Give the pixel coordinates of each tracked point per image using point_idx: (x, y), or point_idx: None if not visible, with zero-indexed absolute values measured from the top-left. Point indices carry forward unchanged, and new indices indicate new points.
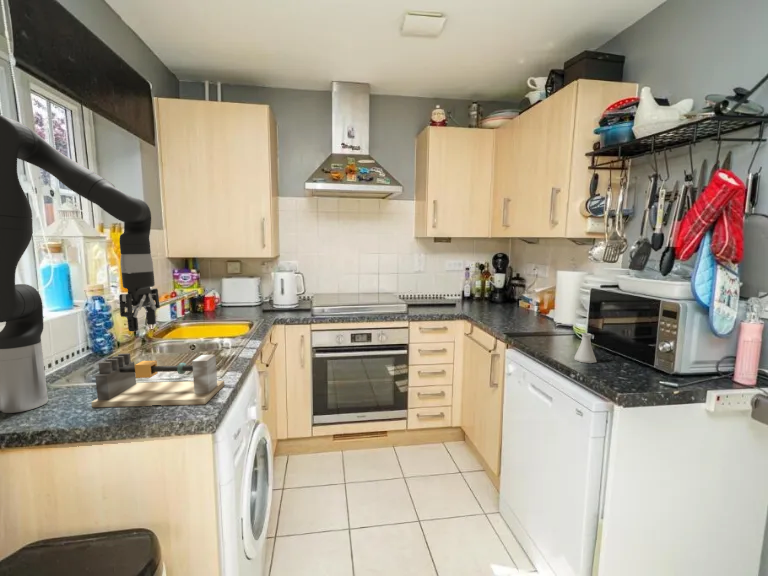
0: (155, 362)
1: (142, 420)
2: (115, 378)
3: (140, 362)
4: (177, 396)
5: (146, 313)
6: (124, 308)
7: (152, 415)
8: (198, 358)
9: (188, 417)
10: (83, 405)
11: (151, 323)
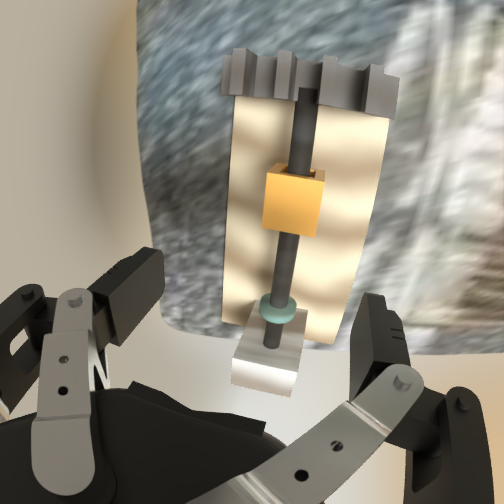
0: (305, 234)
1: (160, 218)
2: (271, 98)
3: (300, 182)
4: (244, 267)
5: (372, 353)
6: (12, 336)
7: (180, 229)
8: (257, 368)
9: (170, 295)
10: (262, 28)
11: (357, 319)
